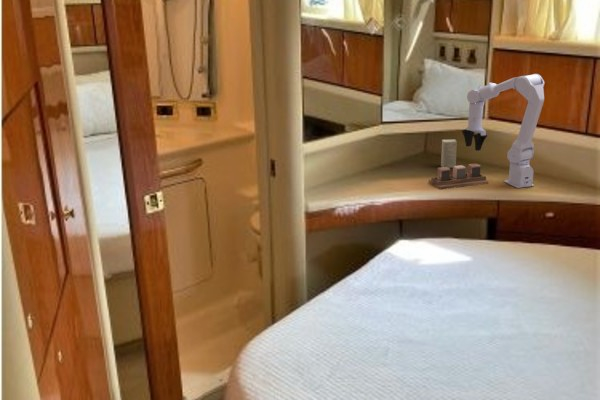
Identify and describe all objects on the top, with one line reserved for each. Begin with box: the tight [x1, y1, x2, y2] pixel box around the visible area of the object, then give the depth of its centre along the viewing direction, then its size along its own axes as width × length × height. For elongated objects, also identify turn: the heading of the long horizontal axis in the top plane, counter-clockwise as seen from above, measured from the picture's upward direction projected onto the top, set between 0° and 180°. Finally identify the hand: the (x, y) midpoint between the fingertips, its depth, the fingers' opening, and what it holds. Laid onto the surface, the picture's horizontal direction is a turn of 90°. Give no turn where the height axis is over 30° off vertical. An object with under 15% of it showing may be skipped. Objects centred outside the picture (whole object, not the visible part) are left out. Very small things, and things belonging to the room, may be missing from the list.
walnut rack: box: [428, 163, 489, 190], centre depth 242 cm, size 10×22×7 cm, turn 106°
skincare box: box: [440, 139, 458, 169], centre depth 264 cm, size 6×4×12 cm
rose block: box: [452, 164, 467, 180], centre depth 242 cm, size 3×4×6 cm
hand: (473, 148), depth 255 cm, fingers open, 7 cm apart
